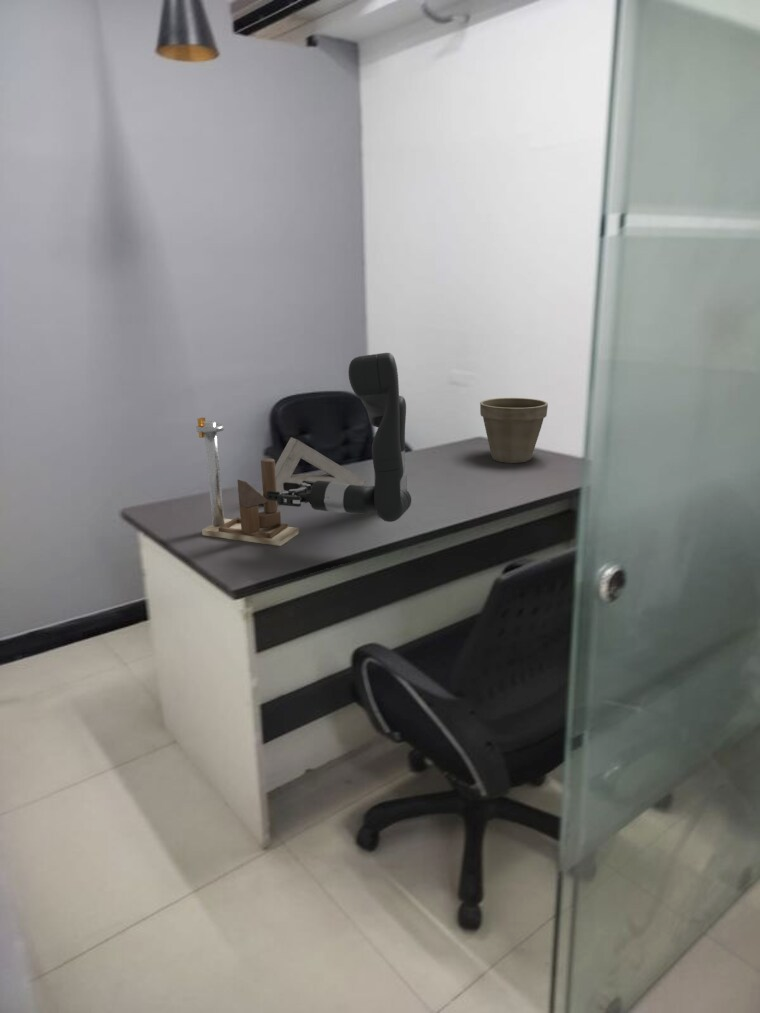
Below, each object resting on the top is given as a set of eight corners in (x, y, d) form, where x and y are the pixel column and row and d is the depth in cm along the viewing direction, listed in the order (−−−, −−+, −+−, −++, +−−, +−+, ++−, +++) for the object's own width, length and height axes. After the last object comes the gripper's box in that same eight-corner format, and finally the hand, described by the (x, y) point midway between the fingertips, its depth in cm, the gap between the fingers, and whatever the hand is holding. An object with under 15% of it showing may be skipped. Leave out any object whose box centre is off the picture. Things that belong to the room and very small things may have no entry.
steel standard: (236, 527, 190) (228, 417, 180) (222, 535, 184) (213, 422, 174) (215, 524, 192) (205, 415, 183) (200, 532, 186) (190, 420, 176)
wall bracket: (334, 540, 225) (262, 503, 207) (327, 536, 228) (256, 499, 210) (366, 481, 226) (297, 439, 208) (359, 478, 229) (290, 437, 211)
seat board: (298, 533, 185) (298, 524, 184) (280, 546, 176) (280, 536, 175) (223, 523, 193) (222, 514, 192) (202, 535, 184) (201, 526, 184)
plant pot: (471, 451, 271) (473, 397, 264) (531, 449, 273) (535, 395, 267) (487, 468, 247) (490, 408, 240) (553, 465, 250) (557, 406, 243)
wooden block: (240, 531, 180) (235, 465, 174) (272, 520, 187) (268, 457, 182) (249, 534, 177) (244, 467, 172) (281, 523, 185) (277, 459, 179)
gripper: (343, 475, 177) (288, 469, 183) (319, 490, 165) (260, 483, 170) (344, 502, 180) (289, 496, 185) (320, 519, 167) (262, 512, 173)
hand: (275, 490), depth 178 cm, fingers open, 8 cm apart
